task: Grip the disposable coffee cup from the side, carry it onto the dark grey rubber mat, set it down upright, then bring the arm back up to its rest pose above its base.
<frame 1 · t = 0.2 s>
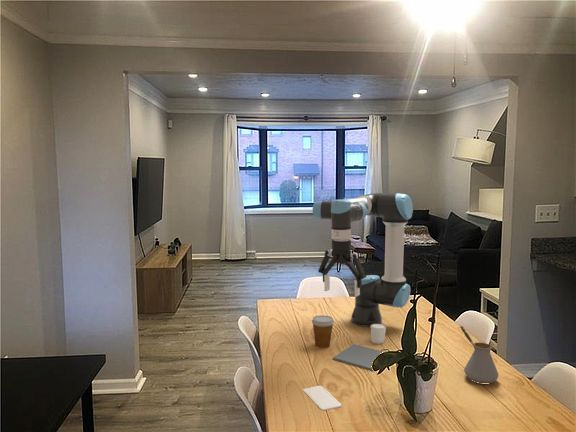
hand: (341, 293, 179), 27 cm above the table, tool pointing down, fingers open, 13 cm apart
white candle: (377, 341, 202), on the table
smartphone: (321, 399, 152), on the table
grey rubber mat: (363, 357, 184), on the table
coffee pot: (473, 374, 170), on the table
disposable coffee cup: (322, 345, 197), on the table
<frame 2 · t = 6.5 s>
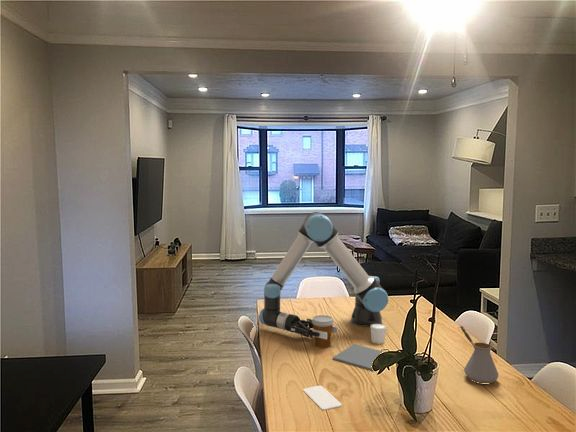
hand: (332, 333, 194), 7 cm above the table, tool horizontal, fingers closed on disposable coffee cup, 8 cm apart
disposable coffee cup: (322, 345, 197), on the table, touching gripper
everything else where it was.
when the fingers open (9 cm above the table, at t = 11.7 s): disposable coffee cup drops 1 cm, resting on grey rubber mat.
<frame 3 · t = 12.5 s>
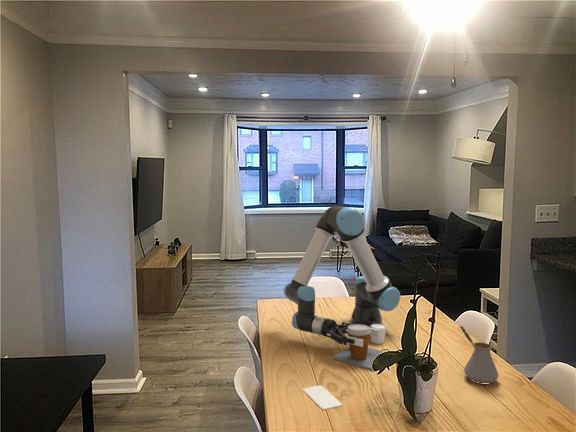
hand: (370, 338, 182), 9 cm above the table, tool horizontal, fingers open, 13 cm apart
disposable coffee cup: (358, 357, 183), point 1 cm above the table, touching grey rubber mat, gripper
everything else where it was.
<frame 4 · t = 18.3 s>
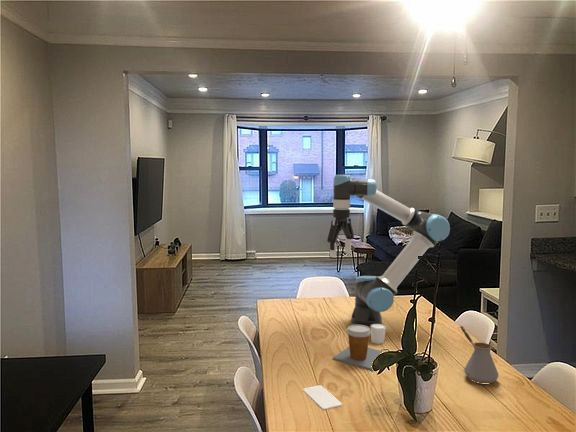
hand: (340, 255, 209), 37 cm above the table, tool pointing down, fingers open, 13 cm apart
disposable coffee cup: (358, 357, 183), point 1 cm above the table, touching grey rubber mat
everything else where it was.
at the end: disposable coffee cup inside the target area on the grey rubber mat (2.8 cm from its centre), point 0.6 cm above the grey rubber mat's base; disposable coffee cup tilted 0°; the gripper is holding nothing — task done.
